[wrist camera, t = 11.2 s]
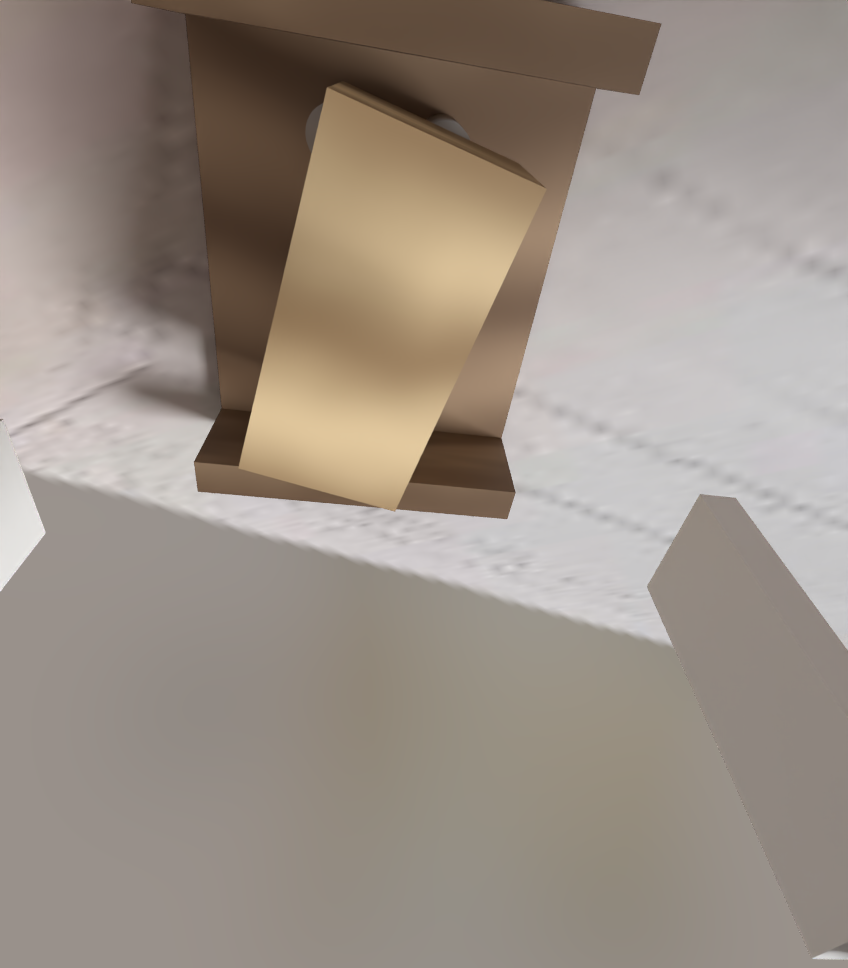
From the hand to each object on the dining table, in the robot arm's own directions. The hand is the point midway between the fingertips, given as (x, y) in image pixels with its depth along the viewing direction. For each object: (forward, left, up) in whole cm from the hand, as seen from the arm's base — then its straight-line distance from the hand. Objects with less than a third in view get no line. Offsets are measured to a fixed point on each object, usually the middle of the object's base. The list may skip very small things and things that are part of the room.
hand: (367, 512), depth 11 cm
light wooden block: (0, 0, -12) cm, 12 cm away
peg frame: (0, 0, -16) cm, 16 cm away
